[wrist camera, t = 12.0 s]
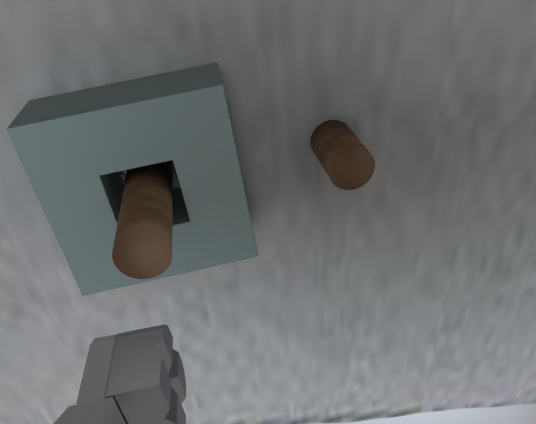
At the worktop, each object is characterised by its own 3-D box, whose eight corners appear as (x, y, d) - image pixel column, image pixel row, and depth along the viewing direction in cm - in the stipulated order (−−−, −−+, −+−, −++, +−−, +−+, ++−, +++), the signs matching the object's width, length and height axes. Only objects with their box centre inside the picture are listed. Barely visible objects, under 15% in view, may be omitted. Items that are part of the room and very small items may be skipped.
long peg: (166, 141, 34) (163, 225, 25) (177, 180, 36) (178, 271, 27) (122, 151, 34) (103, 238, 25) (135, 189, 36) (122, 284, 26)
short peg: (349, 116, 36) (373, 142, 31) (352, 154, 37) (375, 184, 33) (308, 125, 36) (327, 152, 31) (313, 162, 37) (331, 194, 33)
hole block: (216, 63, 32) (222, 84, 28) (248, 218, 39) (258, 255, 34) (28, 100, 32) (6, 129, 27) (92, 253, 38) (82, 295, 34)
